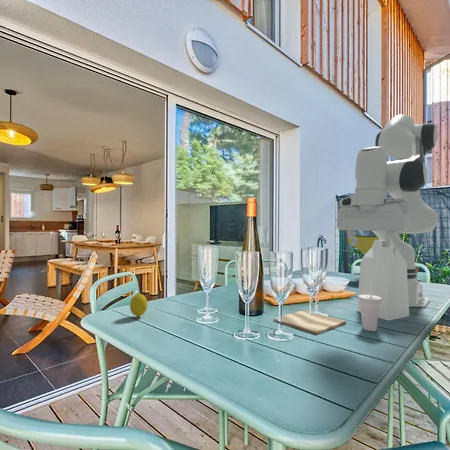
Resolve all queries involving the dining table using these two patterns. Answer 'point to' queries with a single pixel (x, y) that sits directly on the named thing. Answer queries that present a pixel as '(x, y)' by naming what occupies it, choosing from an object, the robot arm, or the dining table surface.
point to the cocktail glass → (364, 244)
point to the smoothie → (370, 310)
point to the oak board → (311, 321)
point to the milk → (385, 280)
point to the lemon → (138, 305)
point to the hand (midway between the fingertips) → (369, 245)
